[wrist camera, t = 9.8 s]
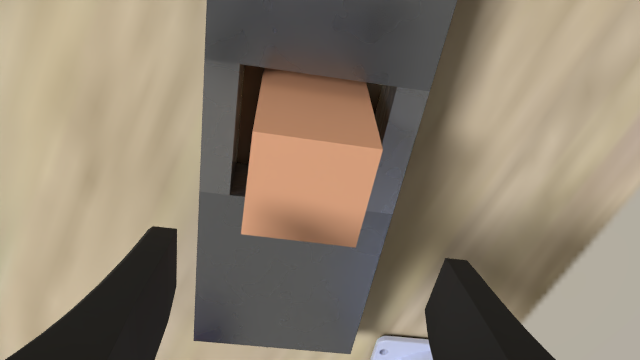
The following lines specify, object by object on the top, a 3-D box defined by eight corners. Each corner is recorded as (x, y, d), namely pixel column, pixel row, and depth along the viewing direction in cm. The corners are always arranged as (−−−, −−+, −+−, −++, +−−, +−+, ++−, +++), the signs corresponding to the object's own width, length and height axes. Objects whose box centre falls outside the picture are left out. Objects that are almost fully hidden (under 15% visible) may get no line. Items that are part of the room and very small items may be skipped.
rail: (347, 316, 28) (350, 354, 26) (202, 302, 28) (193, 340, 26) (497, -223, 15) (527, -232, 13) (230, -280, 15) (218, -300, 12)
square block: (344, 158, 23) (355, 247, 18) (255, 146, 22) (240, 234, 17) (364, 75, 21) (382, 149, 16) (265, 59, 20) (252, 131, 15)
